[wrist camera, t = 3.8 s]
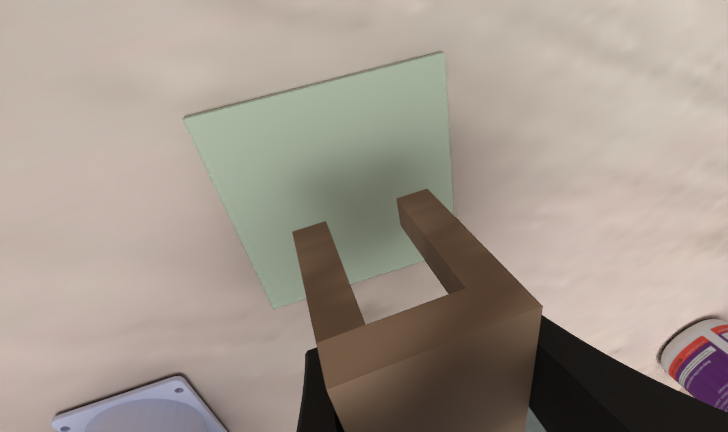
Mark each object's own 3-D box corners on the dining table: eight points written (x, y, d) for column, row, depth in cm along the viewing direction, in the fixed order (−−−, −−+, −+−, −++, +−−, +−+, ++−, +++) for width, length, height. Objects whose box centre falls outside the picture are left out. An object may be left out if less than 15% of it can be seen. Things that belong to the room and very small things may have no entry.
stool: (427, 188, 13) (542, 306, 8) (439, 316, 17) (522, 449, 12) (292, 231, 12) (326, 390, 7) (337, 355, 16) (380, 512, 11)
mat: (452, 247, 23) (455, 250, 23) (273, 304, 22) (273, 309, 22) (441, 51, 17) (444, 52, 17) (184, 116, 16) (182, 119, 15)
